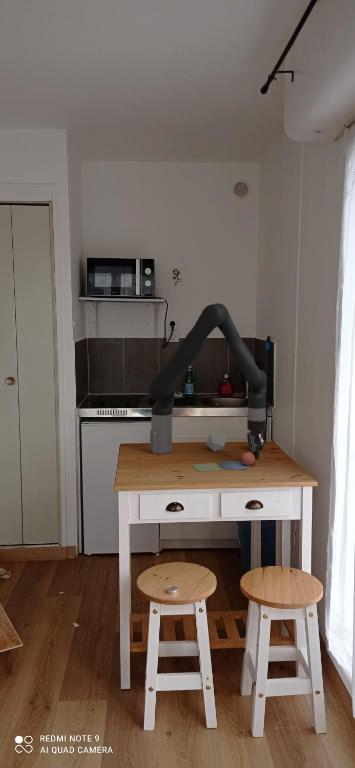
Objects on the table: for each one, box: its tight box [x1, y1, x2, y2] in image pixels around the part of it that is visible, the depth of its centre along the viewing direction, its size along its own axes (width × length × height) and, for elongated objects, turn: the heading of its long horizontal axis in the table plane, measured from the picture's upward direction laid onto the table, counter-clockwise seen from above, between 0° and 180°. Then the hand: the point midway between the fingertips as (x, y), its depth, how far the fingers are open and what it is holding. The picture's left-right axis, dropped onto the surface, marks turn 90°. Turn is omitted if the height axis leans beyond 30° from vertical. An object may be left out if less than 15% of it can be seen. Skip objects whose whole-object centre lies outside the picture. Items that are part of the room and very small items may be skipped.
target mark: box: [217, 460, 251, 471], centre depth 239 cm, size 13×13×1 cm
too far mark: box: [191, 462, 224, 473], centre depth 236 cm, size 10×10×1 cm
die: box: [205, 432, 227, 452], centre depth 265 cm, size 8×9×10 cm
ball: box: [241, 451, 256, 467], centre depth 239 cm, size 6×6×6 cm
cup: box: [246, 431, 264, 452], centre depth 265 cm, size 8×7×8 cm
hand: (255, 459), depth 242 cm, fingers closed
